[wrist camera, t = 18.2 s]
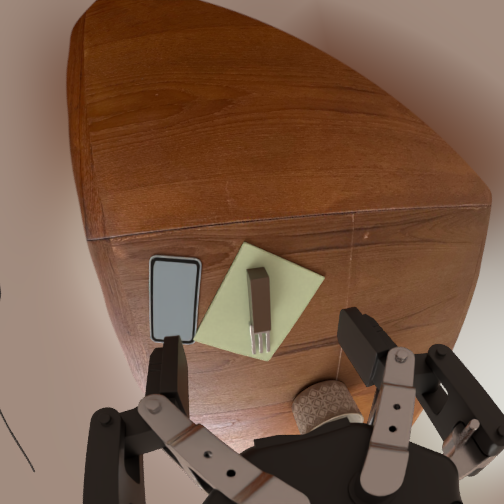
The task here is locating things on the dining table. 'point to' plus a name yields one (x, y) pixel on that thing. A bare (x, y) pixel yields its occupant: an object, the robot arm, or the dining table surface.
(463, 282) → the dining table surface
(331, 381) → the planter
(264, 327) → the fork
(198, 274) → the smartphone
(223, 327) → the placemat
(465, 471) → the robot arm
